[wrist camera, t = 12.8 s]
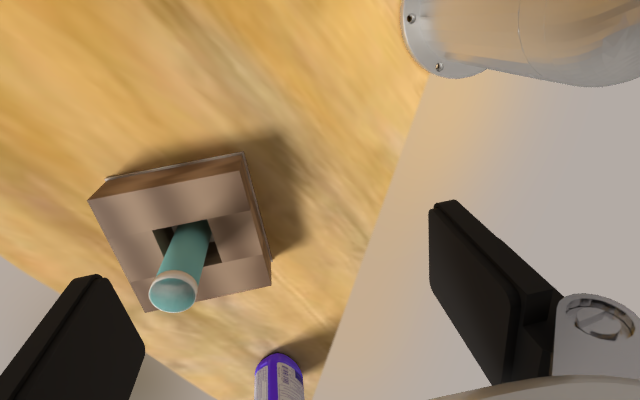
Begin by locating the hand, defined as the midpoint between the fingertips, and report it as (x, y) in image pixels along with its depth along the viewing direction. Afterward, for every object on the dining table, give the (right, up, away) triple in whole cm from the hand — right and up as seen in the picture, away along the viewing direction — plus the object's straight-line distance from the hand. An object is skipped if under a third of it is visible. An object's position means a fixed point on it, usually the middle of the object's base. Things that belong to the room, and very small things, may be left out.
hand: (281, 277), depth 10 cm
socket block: (-13, 0, +30) cm, 33 cm away
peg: (-13, 0, +30) cm, 32 cm away
